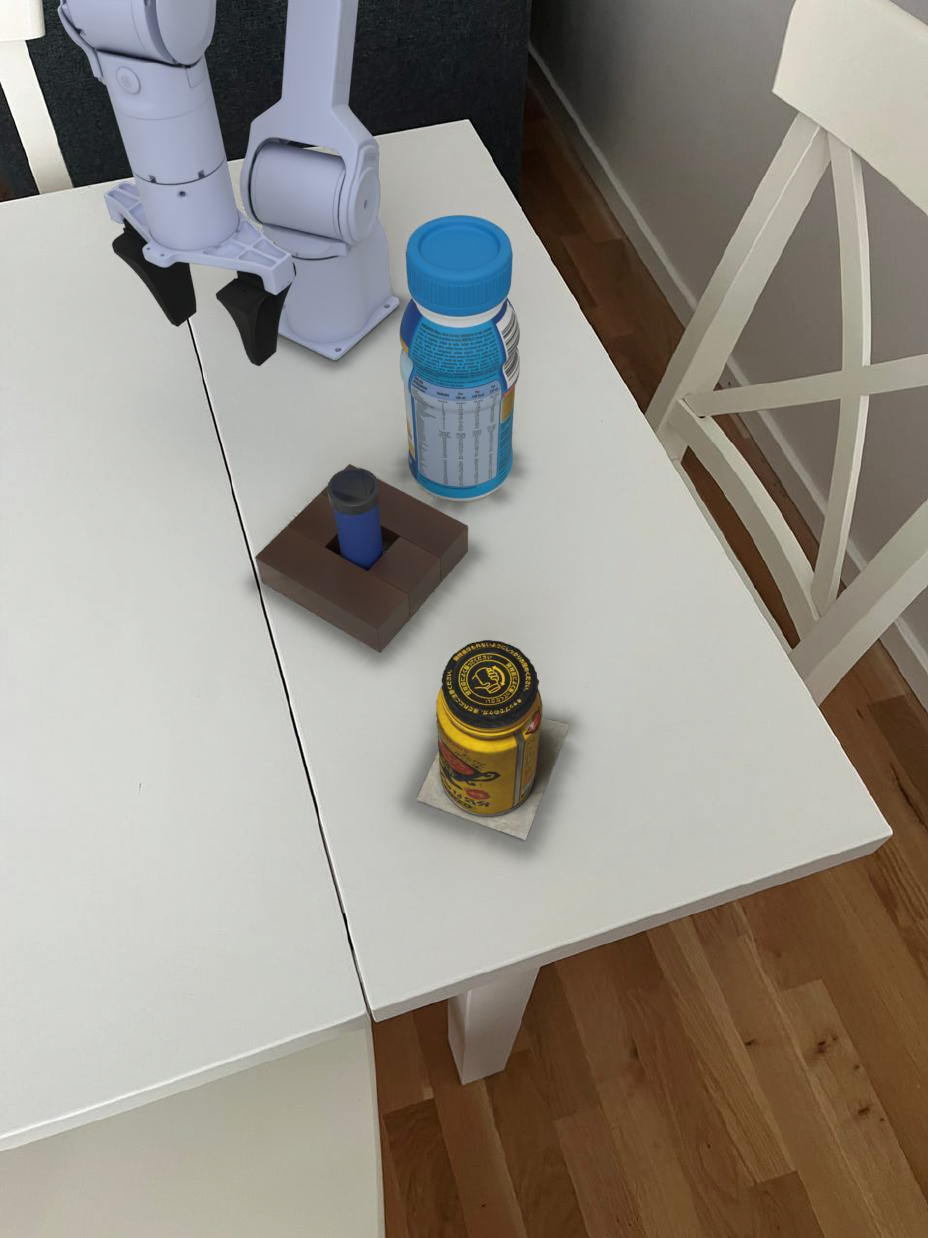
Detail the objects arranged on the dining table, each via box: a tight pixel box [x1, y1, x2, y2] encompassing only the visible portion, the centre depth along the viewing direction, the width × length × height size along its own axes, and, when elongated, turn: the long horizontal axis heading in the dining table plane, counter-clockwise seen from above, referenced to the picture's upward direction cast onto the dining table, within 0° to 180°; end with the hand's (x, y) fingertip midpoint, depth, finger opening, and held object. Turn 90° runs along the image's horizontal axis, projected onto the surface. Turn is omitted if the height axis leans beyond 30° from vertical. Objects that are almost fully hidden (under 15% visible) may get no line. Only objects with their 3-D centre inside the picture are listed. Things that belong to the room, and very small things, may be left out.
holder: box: [254, 463, 469, 653], centre depth 71 cm, size 11×11×3 cm
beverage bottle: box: [399, 214, 521, 502], centre depth 70 cm, size 8×8×20 cm
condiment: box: [415, 639, 570, 841], centre depth 58 cm, size 7×8×12 cm
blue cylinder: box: [327, 467, 384, 571], centre depth 69 cm, size 3×3×9 cm
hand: (223, 337), depth 71 cm, fingers open, 7 cm apart
